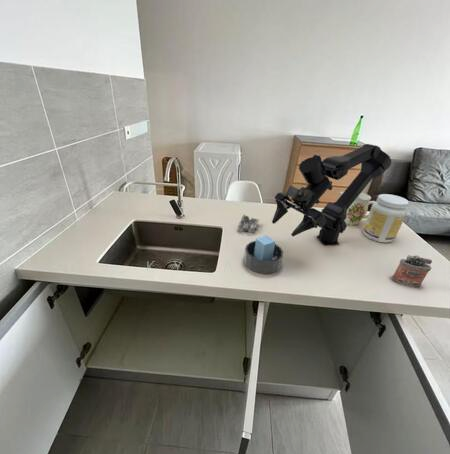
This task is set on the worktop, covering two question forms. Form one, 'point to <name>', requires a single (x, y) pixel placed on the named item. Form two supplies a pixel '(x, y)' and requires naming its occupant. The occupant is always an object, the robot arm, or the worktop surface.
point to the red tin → (412, 271)
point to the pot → (262, 265)
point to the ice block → (264, 248)
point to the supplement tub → (385, 218)
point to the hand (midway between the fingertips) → (282, 229)
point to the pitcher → (358, 209)
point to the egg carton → (248, 224)
